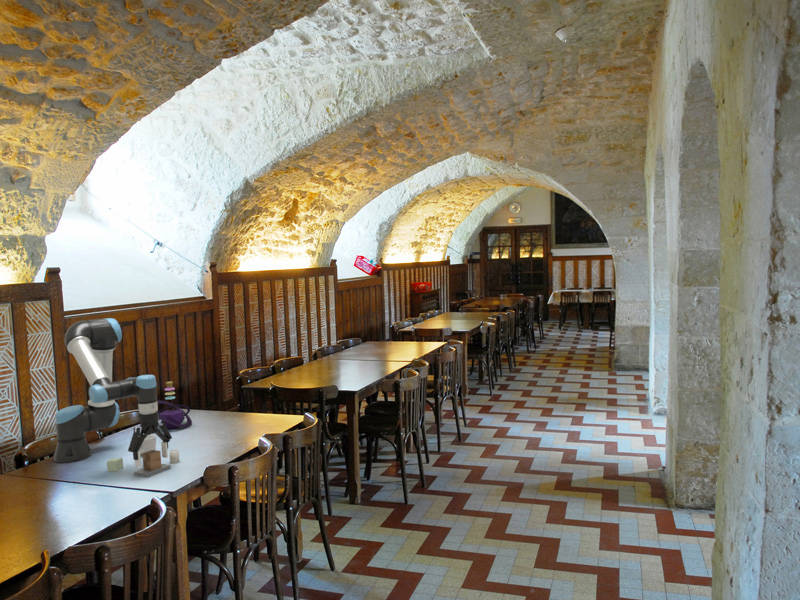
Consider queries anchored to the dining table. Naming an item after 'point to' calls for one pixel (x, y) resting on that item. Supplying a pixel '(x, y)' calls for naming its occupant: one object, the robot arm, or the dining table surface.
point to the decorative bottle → (173, 411)
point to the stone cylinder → (174, 456)
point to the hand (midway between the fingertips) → (152, 462)
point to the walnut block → (151, 460)
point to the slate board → (150, 473)
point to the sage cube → (114, 464)
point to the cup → (148, 444)
